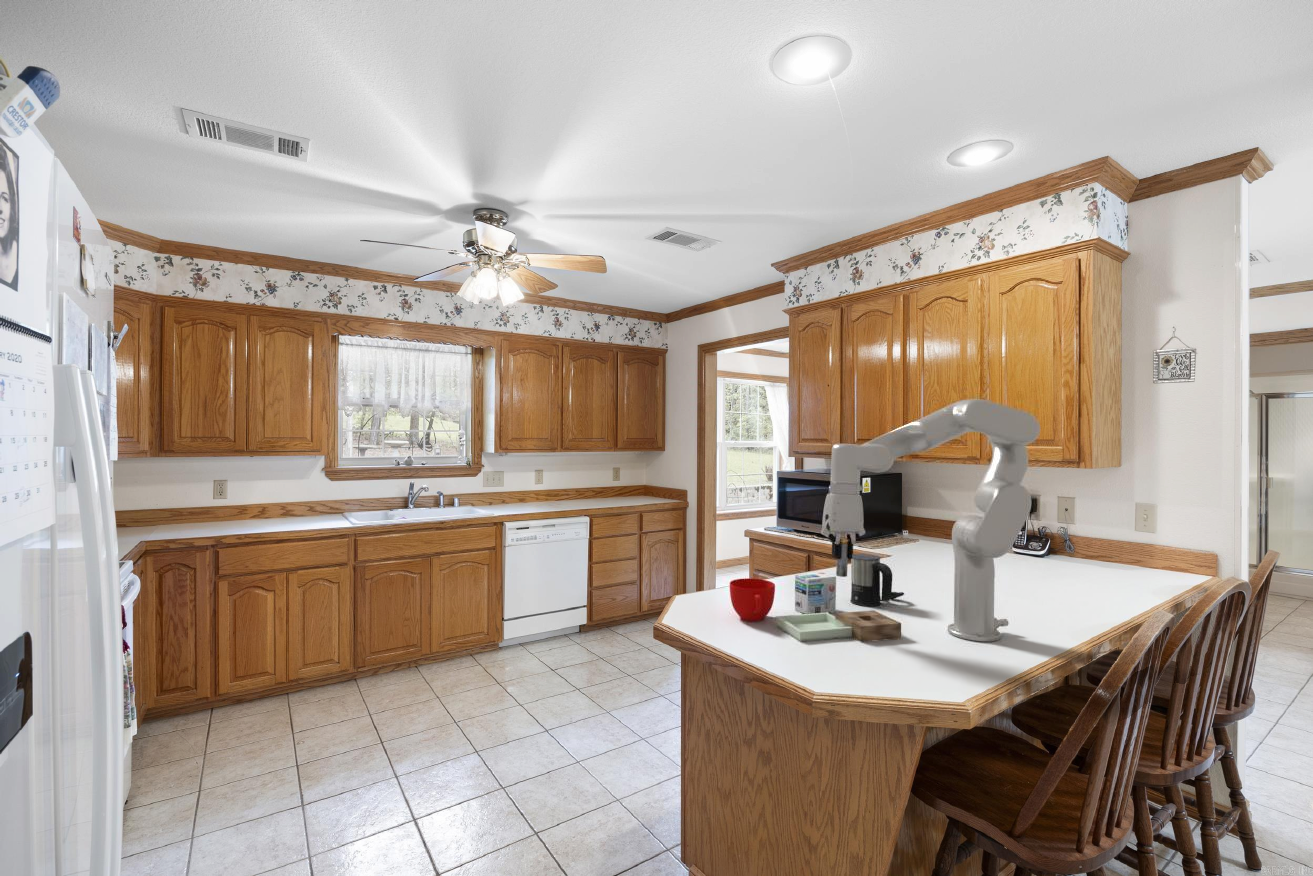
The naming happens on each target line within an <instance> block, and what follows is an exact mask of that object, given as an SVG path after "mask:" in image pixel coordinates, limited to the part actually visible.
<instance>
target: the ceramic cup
mask: <svg viewBox="0 0 1313 876" xmlns="http://www.w3.org/2000/svg"><path fill="white" fill-rule="evenodd" d="M775 591H776V585H775V583H774V582H773V581H770V580H767V579H760V578H751V577H750V578H745V577H744V578H737V579H733V580H731V581H729V596H730V600H731V601H730V602H731V605H732V607H733V610H734V612H735V613H736V614H737V615H738V617H739V618H740V619H741V620H743V621H745V620H746V621H745V622H761V621H763V620H764V619H765V618H766V616H768V615H769V613H770V612H771V609H772V608H773V605H774V602H775V601H774V600H775V593H776V592H775Z"/></svg>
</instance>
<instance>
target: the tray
mask: <svg viewBox="0 0 1313 876" xmlns="http://www.w3.org/2000/svg"><path fill="white" fill-rule="evenodd" d="M774 619H775V621H774V622H775V623H774V624H775V627H777V628H778V629H780V630H781V629H782V631H783V632H784V631H785V633H786V634H787V633H788V635H789V634H790V635H791V636H790V635H789V636H790V637H792V638H793V637H794V639H795V640H796V639H797V640H796V641H798V642H799V641H800V643H803V642H804V641H805V642H813V641H814V640H816V641H825V640H824V639H827V640H834V639H833V638H838V639H846V638H845V637H849V638H852V627H850V626H849V627H847V626H848V625H845V624H843V623H842V622H841V624H840V622H839V621H838V620H837V619H835V615H833V614H831V613H827V612H826V613H813V614H803V613H801V614H791V615H790V614H789V615H777V616H775V618H774ZM836 622H837V623H838V622H839V623H838V624H837V623H836ZM835 623H836V624H837V625H836V624H835ZM841 625H842V627H841ZM843 625H845V626H843ZM837 626H838V627H837ZM805 642H804V643H805Z"/></svg>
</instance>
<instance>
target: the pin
mask: <svg viewBox="0 0 1313 876" xmlns="http://www.w3.org/2000/svg"><path fill="white" fill-rule="evenodd" d="M848 540H849V539H848V538H846V537H841V536H840V542H839V544H841V559H836V570H835V571H836V573H835V574H836V577H840V578H841V577H843V578H845V577H848V563H849V562H848V560H849V559H848Z"/></svg>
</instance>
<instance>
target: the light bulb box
mask: <svg viewBox="0 0 1313 876" xmlns="http://www.w3.org/2000/svg"><path fill="white" fill-rule="evenodd" d="M836 592H837V576H835V575H832V574H829V573H827V572H823V571H821V572H813V573H812V572H809V573H803V574H795V575H794V610H795V611H797V612H799V613H801V614H803V613H804V614H813V613H826V612H832V613H836V608H837V607H836V605H837V604H836V603H837V602H836V601H837V600H836V598H837V597H836V596H837V593H836Z"/></svg>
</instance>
